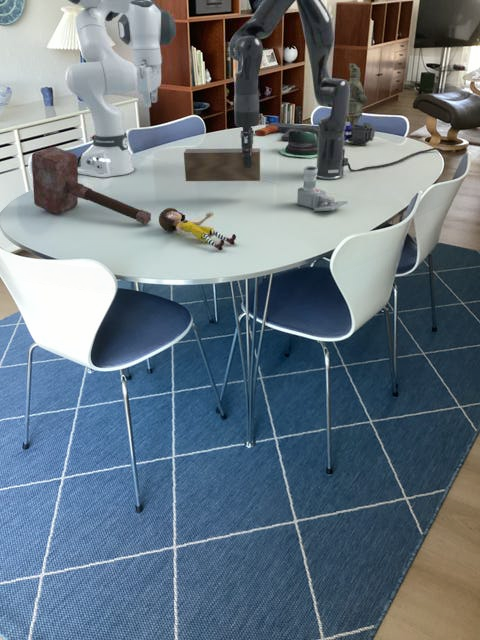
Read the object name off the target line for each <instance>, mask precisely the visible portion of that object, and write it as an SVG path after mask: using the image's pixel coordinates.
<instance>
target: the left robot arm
mask: <svg viewBox="0 0 480 640" xmlns="http://www.w3.org/2000/svg"><path fill="white" fill-rule="evenodd" d="M67 1H68V2H70V3H71V4H73V5H75V6H76V5H77V6H79V7H81V8H83V9H81V10H80V11H79V12H78V13H77V14H76V18H75V31H76V32H75V33H76V37H77V42H78V47H79V50H80V55H81V56H82V58H83V59H84V61H86V62H79V63H75V64H71V65H69V67H67V70H66V72H65V83H66V85H67V87H68V89H69V91H70V92H71V93H72V94H74V96H76V97H78V98H79V99H80V100H81V101H83V103H84V104H85V105H86V106H87V108H88V109H89V111H90V112H89V113H90V114H91V118H92V122H93V126H94V133H95V134H93V135H92V136H90V137H89V141H92V145H91V146H90V147H88V148H87V149H86V150H85V151H84V152H83V153H81V154H80V156H77V158H78V175H85V176H90V177H97V178H111V177H116V176H124V175H128V174H130V173H133V172H134V171H135V168H134V165H133V164H132V160H131V156H130V152H129V142H128V135H127V132H126V126H125V119H124V118H125V117H124V112H123V111H122V110H121V108H120V107H118V106H116V105H114V104H112V103H109V102H107V101H106V100H105V98H104V96H106V95H107V96H108V95H119V94H120V95H122V94H126V93H129V92H134V91H136V89H137V93H138V94H139V95H142V98H143V101H144V106H145V108H146V109H147V108H149V109H150V108H152V103H153V104H155V103H157V102H158V88H159V87H160V86H161V85H162V63H163V55H162V54H161V53H162V52H161V46H169V45H170V44H171V43H172V42H173V40H174V39H175V37H176V35H177V25H176V20H175V19H174V17H173V16H172V14H170V13H169V11H168V10H164V9H162V8H161V6H160V5H159V4H158V3H156V2H155V0H67ZM121 14H122V15H121ZM119 15H120V17H119V19H118V20H117V27H118V35H119V39H120V40H121V41H122V42H123V43H124V44H125V45H127V46H131V51H132V59H133V62H131V61H129V60H126V59H124V58H123V57H122V56H120V55H119V54H118V53H117V52H116V51H115V50H114V49H113V47H112V44H111V42H110V39H109V35H108V31H107V28H106V25H105V24H106V23H105V22H111V21H112V20H113V19H115V18H117V17H118V16H119ZM79 165H80V166H79Z"/></svg>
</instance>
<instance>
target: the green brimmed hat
mask: <svg viewBox="0 0 480 640" xmlns="http://www.w3.org/2000/svg"><path fill="white" fill-rule="evenodd" d="M287 142H288V143H287V145H286V146H285V147H283V148H281V149H280V150H279V153H280V154H282V155H285V156H289V157H296V158H297V157H298V158H307V159H309V158H310V159H311V158H313V159H314V158H317V148H318V130H316V129H311V128H298V129H294V130H291V131H289V140H287Z"/></svg>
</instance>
